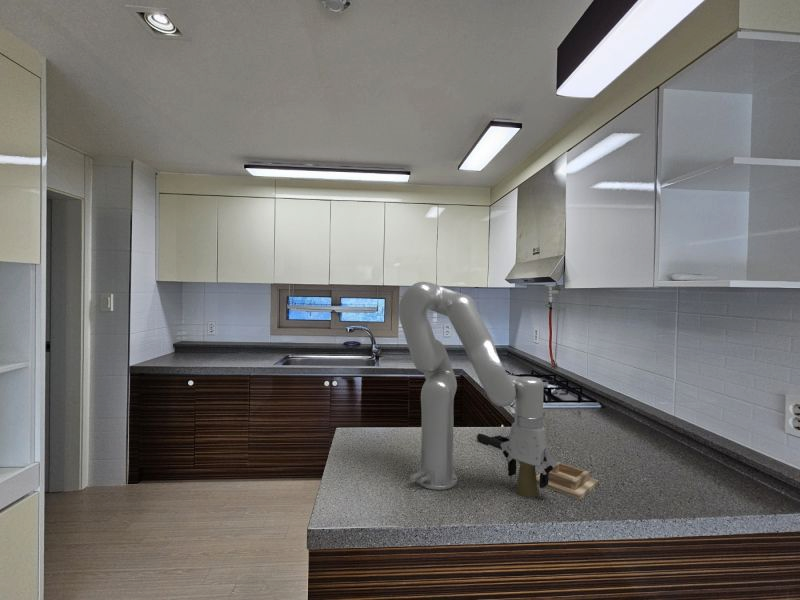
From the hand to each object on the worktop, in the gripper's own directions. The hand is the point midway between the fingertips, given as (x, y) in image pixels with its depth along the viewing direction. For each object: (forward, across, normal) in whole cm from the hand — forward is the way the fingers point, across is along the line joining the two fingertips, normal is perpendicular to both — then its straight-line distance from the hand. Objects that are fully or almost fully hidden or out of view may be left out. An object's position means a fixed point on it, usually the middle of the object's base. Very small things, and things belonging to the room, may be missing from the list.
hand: (527, 480), depth 116 cm
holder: (+3, +5, +14) cm, 15 cm away
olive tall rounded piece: (+4, 0, 0) cm, 4 cm away
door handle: (+4, -23, +28) cm, 36 cm away
